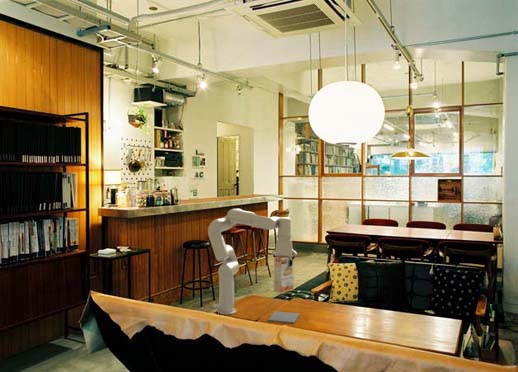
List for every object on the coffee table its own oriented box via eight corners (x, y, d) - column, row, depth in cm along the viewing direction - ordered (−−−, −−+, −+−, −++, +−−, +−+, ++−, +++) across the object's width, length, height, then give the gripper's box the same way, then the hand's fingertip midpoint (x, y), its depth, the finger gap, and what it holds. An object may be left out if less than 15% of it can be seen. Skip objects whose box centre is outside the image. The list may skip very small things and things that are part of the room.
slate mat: (267, 321, 262) (267, 319, 262) (274, 312, 279) (274, 311, 279) (294, 323, 258) (294, 322, 258) (299, 315, 275) (299, 313, 275)
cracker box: (281, 293, 261) (281, 258, 261) (273, 291, 265) (273, 257, 265) (294, 288, 272) (294, 255, 272) (286, 287, 276) (286, 254, 276)
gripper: (269, 237, 267) (268, 266, 267) (297, 238, 262) (297, 268, 262) (272, 236, 274) (271, 264, 274) (299, 237, 269) (299, 265, 270)
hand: (284, 265), depth 268 cm, fingers closed on cracker box, 7 cm apart
